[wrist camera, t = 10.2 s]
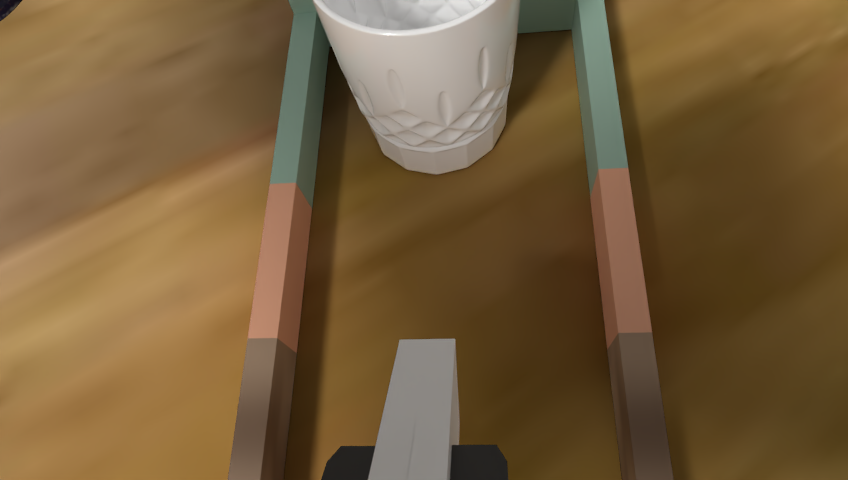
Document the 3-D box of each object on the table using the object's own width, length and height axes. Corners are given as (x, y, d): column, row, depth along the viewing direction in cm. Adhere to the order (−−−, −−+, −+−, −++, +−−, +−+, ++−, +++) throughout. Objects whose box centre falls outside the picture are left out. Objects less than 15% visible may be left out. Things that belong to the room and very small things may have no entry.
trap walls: (637, 349, 24) (651, 332, 22) (269, 353, 26) (247, 338, 24) (617, 196, 27) (628, 167, 25) (287, 209, 29) (269, 183, 26)
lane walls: (668, 575, 21) (688, 583, 18) (243, 563, 22) (215, 569, 20) (637, 349, 24) (651, 332, 22) (269, 353, 26) (247, 338, 24)
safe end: (617, 196, 27) (635, 147, 23) (288, 209, 29) (257, 166, 25) (592, 10, 32) (604, -55, 28) (310, 31, 33) (286, -28, 30)
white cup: (549, 102, 30) (571, -79, 20) (450, 216, 28) (425, 72, 19) (428, 34, 32) (400, -152, 23) (329, 133, 30) (257, -28, 21)
